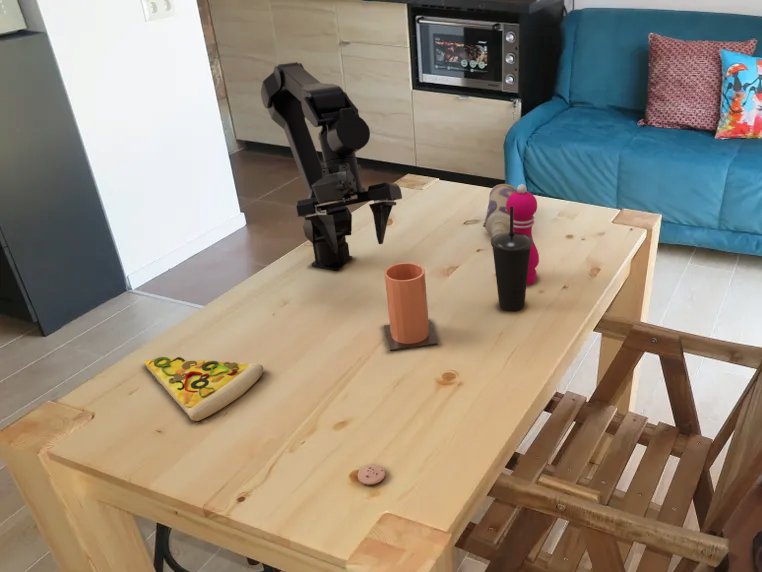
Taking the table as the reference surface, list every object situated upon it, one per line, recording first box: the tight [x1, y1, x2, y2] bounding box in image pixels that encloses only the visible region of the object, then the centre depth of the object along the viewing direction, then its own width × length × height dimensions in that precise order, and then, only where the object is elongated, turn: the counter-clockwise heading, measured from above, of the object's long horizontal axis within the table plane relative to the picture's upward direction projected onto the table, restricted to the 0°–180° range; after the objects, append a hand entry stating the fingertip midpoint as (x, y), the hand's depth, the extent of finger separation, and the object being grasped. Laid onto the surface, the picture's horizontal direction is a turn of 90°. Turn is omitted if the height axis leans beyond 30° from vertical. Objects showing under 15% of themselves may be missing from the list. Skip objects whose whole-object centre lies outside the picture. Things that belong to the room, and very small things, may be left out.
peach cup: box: [383, 262, 429, 344], centre depth 132 cm, size 7×7×12 cm
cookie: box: [357, 463, 386, 486], centre depth 105 cm, size 4×4×1 cm
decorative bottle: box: [482, 183, 517, 237], centre depth 170 cm, size 26×8×7 cm, turn 177°
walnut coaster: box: [383, 319, 438, 352], centre depth 136 cm, size 8×8×1 cm
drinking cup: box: [490, 207, 534, 313], centre depth 139 cm, size 8×8×20 cm
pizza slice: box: [143, 356, 264, 422], centre depth 123 cm, size 16×21×3 cm
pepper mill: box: [506, 183, 540, 286], centre depth 148 cm, size 7×7×20 cm
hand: (358, 248), depth 137 cm, fingers open, 9 cm apart
